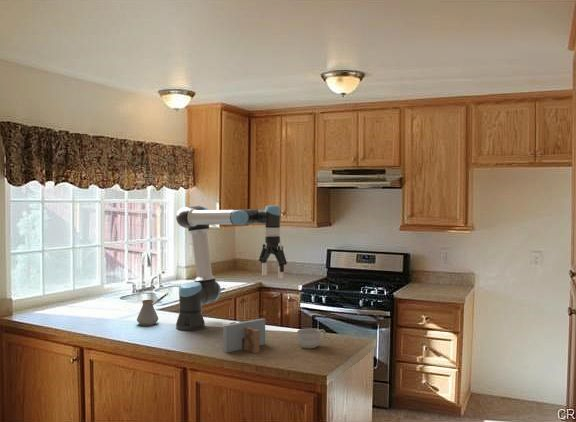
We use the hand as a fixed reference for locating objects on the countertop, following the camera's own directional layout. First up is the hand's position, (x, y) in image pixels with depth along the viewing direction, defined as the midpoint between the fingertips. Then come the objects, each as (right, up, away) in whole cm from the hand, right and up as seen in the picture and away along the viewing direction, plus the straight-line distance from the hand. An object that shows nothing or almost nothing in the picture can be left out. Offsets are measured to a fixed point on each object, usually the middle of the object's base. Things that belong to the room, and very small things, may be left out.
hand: (272, 276), depth 283 cm
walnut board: (-12, -30, -29) cm, 43 cm away
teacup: (+19, -30, -26) cm, 44 cm away
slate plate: (-12, -30, -28) cm, 43 cm away
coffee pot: (-66, -28, +21) cm, 74 cm away
